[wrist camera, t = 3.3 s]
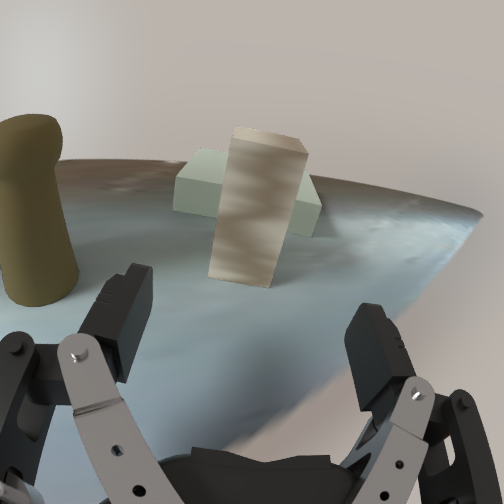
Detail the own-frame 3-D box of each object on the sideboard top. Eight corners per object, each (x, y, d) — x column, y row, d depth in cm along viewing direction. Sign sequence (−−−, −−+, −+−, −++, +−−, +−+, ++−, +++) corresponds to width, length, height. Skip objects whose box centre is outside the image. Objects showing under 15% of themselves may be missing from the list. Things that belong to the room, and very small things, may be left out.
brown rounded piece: (64, 244, 21) (58, 104, 15) (91, 287, 18) (83, 115, 12) (-1, 267, 17) (-24, 121, 11) (13, 318, 14) (-29, 137, 8)
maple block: (207, 277, 22) (231, 137, 16) (214, 244, 25) (236, 125, 20) (269, 288, 22) (308, 153, 17) (267, 254, 26) (298, 138, 21)
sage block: (172, 214, 29) (175, 176, 27) (196, 176, 39) (200, 147, 37) (310, 241, 30) (322, 205, 28) (298, 196, 41) (306, 169, 38)
